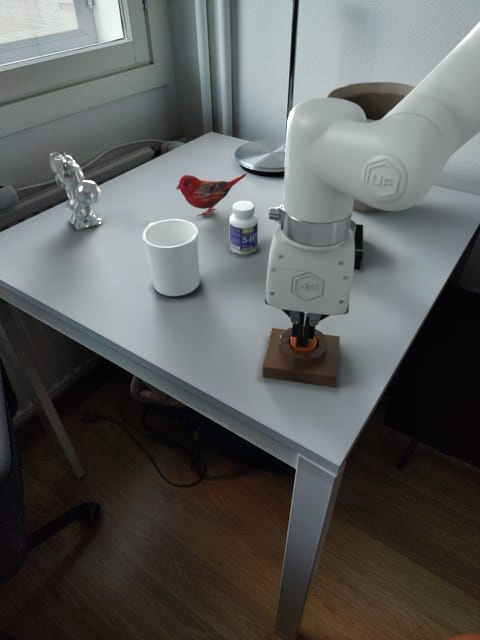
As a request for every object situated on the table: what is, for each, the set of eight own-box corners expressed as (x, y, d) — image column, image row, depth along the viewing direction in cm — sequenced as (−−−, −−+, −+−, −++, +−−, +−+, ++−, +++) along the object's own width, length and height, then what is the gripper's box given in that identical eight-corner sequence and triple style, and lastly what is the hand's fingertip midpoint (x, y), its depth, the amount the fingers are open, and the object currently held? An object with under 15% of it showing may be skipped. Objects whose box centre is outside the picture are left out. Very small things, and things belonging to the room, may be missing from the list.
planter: (434, 192, 105) (464, 87, 90) (412, 244, 89) (444, 126, 74) (329, 172, 114) (341, 74, 99) (292, 216, 98) (299, 106, 83)
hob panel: (361, 238, 91) (364, 223, 89) (361, 278, 81) (364, 263, 79) (290, 231, 93) (290, 217, 91) (280, 270, 83) (281, 255, 81)
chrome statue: (117, 233, 94) (101, 161, 84) (89, 243, 91) (69, 170, 81) (86, 206, 102) (68, 138, 92) (59, 215, 100) (38, 146, 90)
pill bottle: (244, 258, 86) (244, 215, 80) (224, 248, 89) (222, 206, 83) (263, 246, 89) (264, 204, 83) (243, 237, 92) (242, 196, 86)
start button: (316, 342, 66) (317, 333, 64) (314, 360, 63) (315, 351, 62) (291, 339, 66) (292, 330, 65) (288, 356, 64) (289, 347, 62)
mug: (212, 285, 80) (209, 233, 73) (170, 307, 76) (162, 254, 69) (176, 259, 86) (169, 209, 80) (135, 278, 82) (124, 227, 75)
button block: (338, 346, 68) (341, 326, 66) (335, 387, 62) (339, 367, 60) (271, 338, 70) (272, 318, 67) (262, 377, 64) (262, 357, 61)
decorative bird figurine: (176, 221, 97) (170, 176, 90) (243, 197, 105) (242, 153, 98) (183, 227, 95) (178, 181, 89) (251, 201, 103) (251, 158, 96)
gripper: (243, 232, 50) (243, 351, 62) (385, 246, 47) (357, 367, 60) (255, 200, 55) (253, 315, 67) (383, 211, 53) (358, 329, 65)
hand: (302, 339), depth 63 cm, fingers closed
